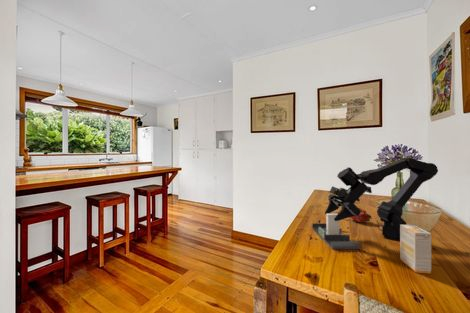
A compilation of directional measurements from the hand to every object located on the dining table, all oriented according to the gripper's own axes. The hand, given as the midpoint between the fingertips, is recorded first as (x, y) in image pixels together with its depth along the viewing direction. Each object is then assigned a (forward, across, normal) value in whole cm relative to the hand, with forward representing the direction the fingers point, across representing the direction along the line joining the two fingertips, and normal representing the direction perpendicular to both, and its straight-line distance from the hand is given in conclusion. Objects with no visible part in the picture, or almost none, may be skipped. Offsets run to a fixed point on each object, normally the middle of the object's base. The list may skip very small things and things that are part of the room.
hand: (329, 217), depth 91 cm
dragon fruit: (-12, -21, +25) cm, 35 cm away
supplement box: (-6, +23, +20) cm, 31 cm away
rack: (+6, 0, +8) cm, 10 cm away
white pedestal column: (+5, 0, +7) cm, 9 cm away
